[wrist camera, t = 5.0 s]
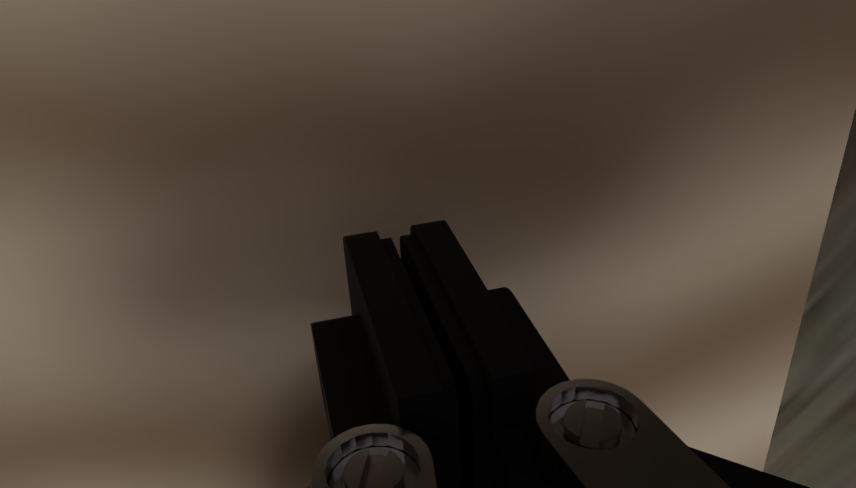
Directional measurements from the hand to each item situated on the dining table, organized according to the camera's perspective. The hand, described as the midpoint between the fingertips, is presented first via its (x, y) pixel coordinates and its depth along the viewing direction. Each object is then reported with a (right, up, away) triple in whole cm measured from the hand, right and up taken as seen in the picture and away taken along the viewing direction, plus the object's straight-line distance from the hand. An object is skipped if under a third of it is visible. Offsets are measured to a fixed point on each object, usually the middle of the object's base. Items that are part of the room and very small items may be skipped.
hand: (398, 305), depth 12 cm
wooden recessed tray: (0, -6, +7) cm, 9 cm away
